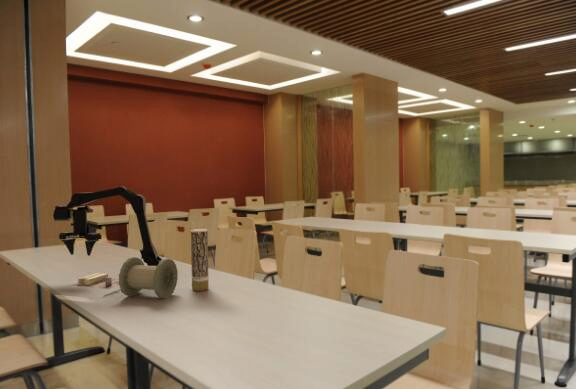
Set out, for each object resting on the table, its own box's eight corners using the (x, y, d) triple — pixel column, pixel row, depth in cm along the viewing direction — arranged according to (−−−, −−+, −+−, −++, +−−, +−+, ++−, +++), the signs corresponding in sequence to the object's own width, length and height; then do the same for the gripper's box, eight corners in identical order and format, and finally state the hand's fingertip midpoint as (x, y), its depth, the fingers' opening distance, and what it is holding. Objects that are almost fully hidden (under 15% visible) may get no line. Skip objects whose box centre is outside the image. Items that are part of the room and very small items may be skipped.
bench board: (132, 283, 191) (132, 272, 190) (108, 292, 177) (107, 280, 176) (97, 280, 197) (97, 269, 197) (71, 288, 183) (70, 276, 183)
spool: (177, 292, 175) (177, 256, 174) (157, 302, 160) (156, 263, 160) (142, 290, 179) (141, 254, 179) (119, 300, 165) (118, 261, 164)
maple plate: (108, 279, 193) (107, 273, 193) (89, 285, 182) (89, 279, 182) (97, 278, 195) (97, 273, 195) (78, 284, 184) (78, 278, 184)
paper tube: (204, 291, 175) (203, 231, 174) (189, 291, 176) (188, 230, 175) (211, 287, 182) (210, 229, 181) (196, 287, 183) (194, 228, 182)
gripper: (109, 219, 198) (110, 253, 198) (76, 218, 203) (77, 251, 203) (92, 221, 187) (92, 257, 187) (57, 220, 192) (58, 255, 193)
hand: (80, 255), depth 193 cm, fingers open, 9 cm apart
